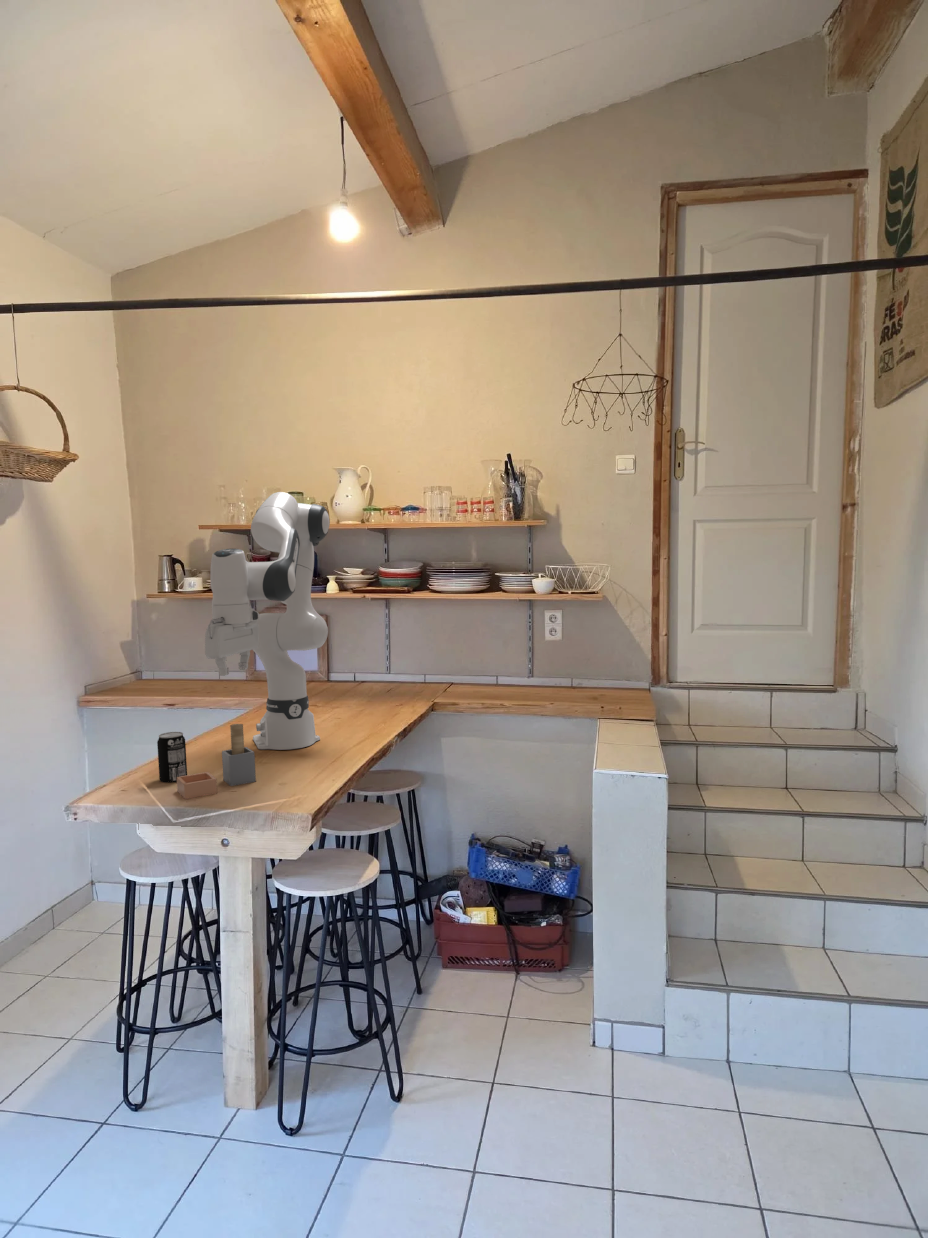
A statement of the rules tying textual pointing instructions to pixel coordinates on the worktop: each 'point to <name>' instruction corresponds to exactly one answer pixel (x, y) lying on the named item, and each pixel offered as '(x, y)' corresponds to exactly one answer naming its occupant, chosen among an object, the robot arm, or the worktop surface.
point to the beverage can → (171, 756)
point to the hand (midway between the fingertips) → (234, 672)
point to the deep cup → (238, 767)
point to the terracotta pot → (196, 785)
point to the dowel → (237, 739)
